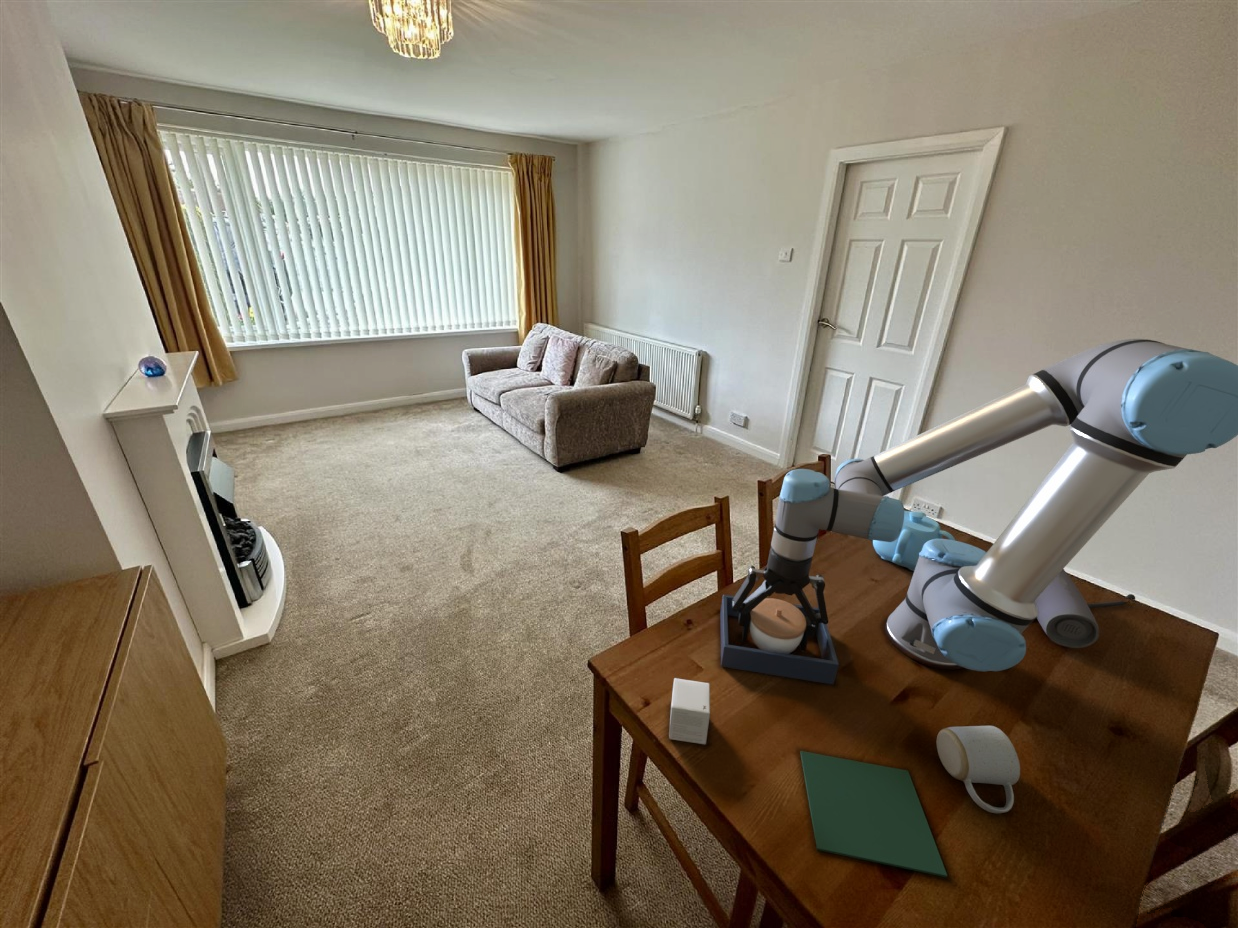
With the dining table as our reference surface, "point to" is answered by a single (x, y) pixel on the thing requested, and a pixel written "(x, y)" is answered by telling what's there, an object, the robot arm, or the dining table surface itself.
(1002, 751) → the ceramic mug
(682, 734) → the product box
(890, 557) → the decorative pot
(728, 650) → the storage box
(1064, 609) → the bluetooth speaker
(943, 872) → the mat
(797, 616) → the trinket box
